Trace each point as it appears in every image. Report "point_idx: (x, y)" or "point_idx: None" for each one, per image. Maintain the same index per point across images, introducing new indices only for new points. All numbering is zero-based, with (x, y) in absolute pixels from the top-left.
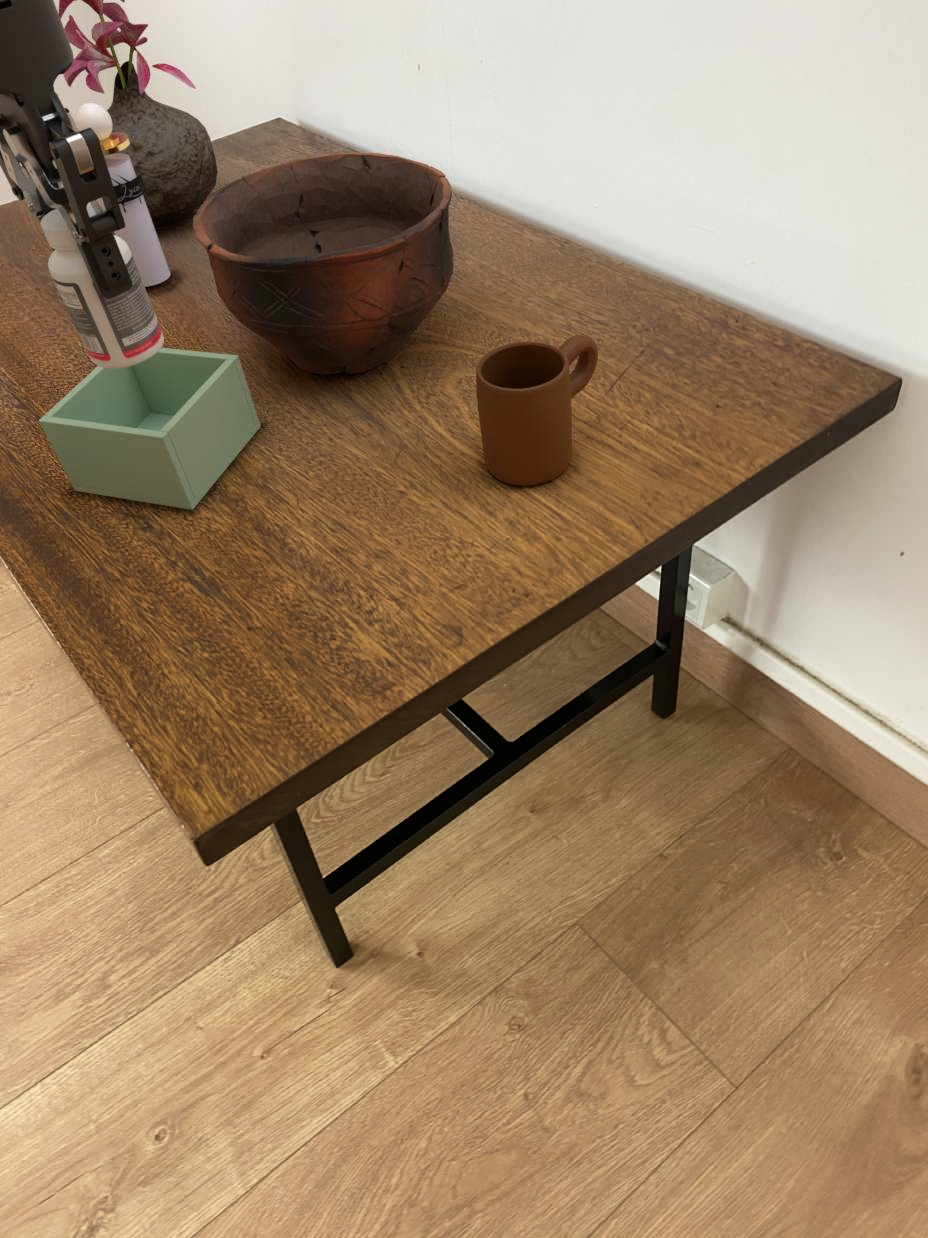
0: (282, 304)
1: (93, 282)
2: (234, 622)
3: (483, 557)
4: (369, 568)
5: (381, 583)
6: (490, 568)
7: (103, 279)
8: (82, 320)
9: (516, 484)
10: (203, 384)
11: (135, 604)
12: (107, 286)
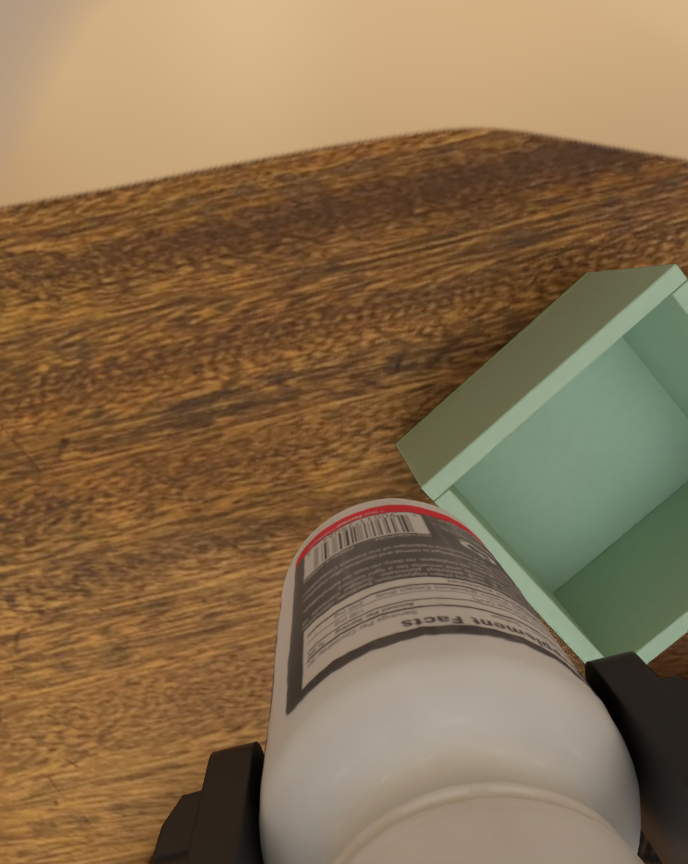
0: (641, 854)
1: (245, 777)
2: (90, 425)
3: (37, 764)
4: (99, 630)
5: (59, 633)
6: (11, 762)
7: (184, 835)
8: (321, 590)
9: (152, 861)
10: (554, 606)
11: (215, 298)
12: (178, 814)
